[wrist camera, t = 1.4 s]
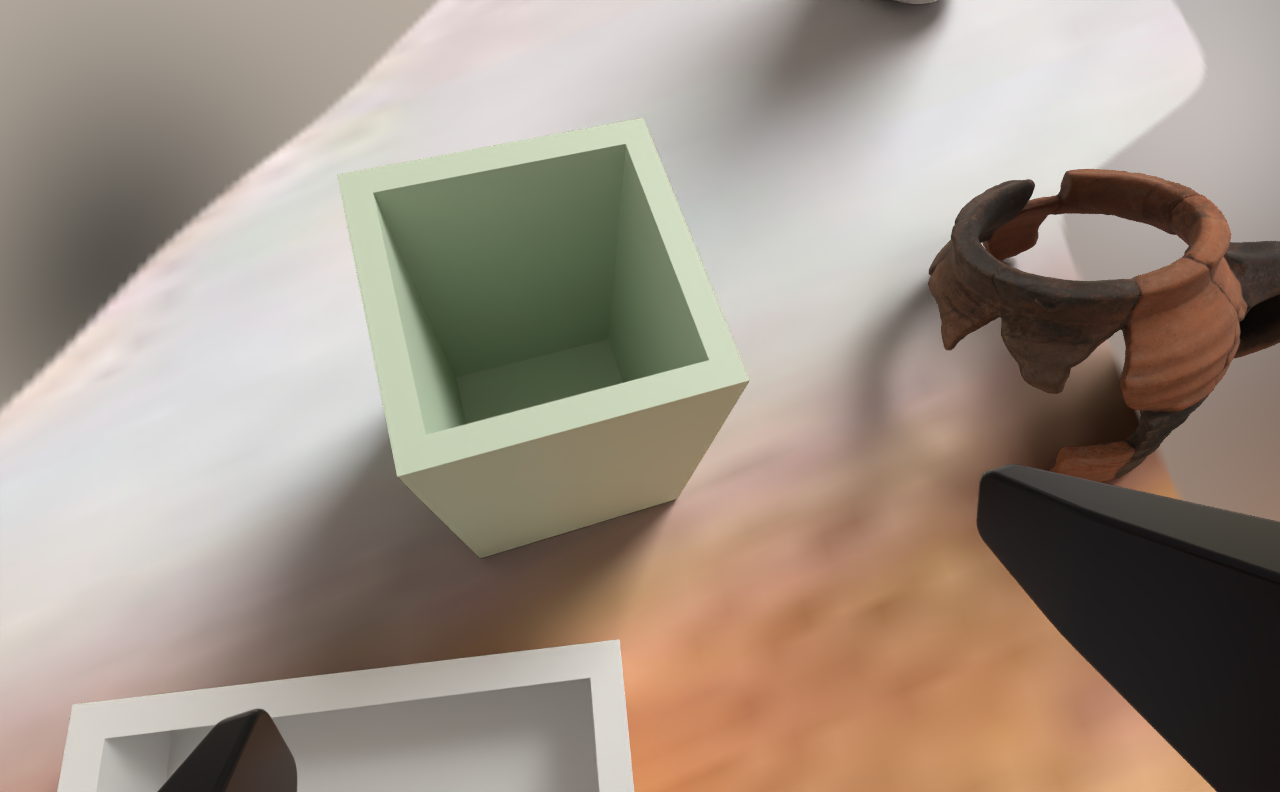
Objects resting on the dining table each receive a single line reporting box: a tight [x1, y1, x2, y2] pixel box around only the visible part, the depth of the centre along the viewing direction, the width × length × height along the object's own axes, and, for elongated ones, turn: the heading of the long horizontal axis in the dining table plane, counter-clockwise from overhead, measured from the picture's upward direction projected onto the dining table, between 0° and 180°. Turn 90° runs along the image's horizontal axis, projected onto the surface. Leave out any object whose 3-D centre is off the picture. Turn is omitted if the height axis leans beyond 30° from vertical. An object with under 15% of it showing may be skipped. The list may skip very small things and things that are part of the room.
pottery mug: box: [928, 169, 1280, 483], centre depth 23 cm, size 12×10×8 cm
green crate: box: [338, 118, 750, 558], centre depth 17 cm, size 6×6×10 cm
